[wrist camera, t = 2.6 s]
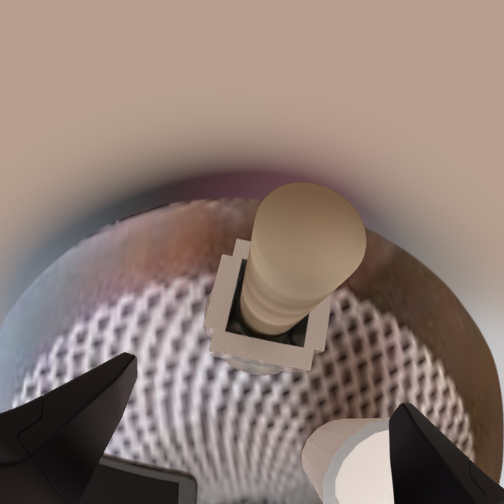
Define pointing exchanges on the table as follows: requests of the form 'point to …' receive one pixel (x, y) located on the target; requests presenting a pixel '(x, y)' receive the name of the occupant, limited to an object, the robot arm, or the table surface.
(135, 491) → the cell phone
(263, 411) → the table surface
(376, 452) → the white short cylinder
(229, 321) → the stand
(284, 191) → the post
